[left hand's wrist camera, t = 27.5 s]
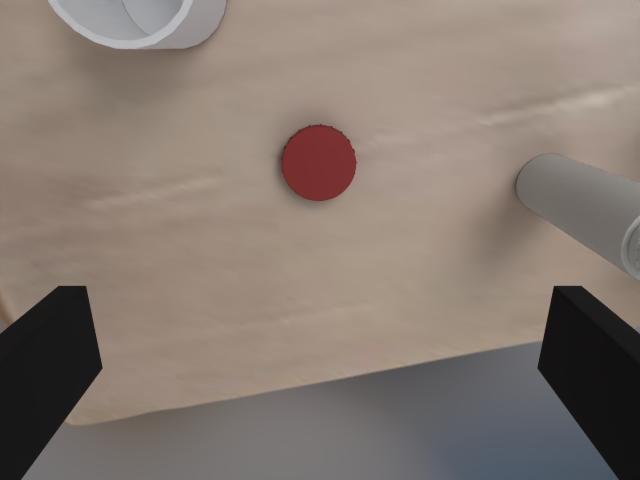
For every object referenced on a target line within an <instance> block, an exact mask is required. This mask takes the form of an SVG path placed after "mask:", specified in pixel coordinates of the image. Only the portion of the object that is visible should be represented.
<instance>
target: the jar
mask: <svg viewBox="0 0 640 480" xmlns="http://www.w3.org/2000/svg"><path fill="white" fill-rule="evenodd" d="M516 191H517V196H518V198H519V200H520V201H521V203H522V204H523V205H524V206H526V207H527V208H529V209H530V210H532V211H533V212H535V213H536V214H538V215H539V216H541V217H542V218H544V219H545V220H547V221H548V222H550V223H551V224H553V225H554V226H556V227H558V228H559V229H561V230H562V231H564V232H565V233H567V234H568V235H570V236H571V237H573V238H574V239H576V240H577V241H579V242H580V243H582V244H583V245H585V246H586V247H588V248H589V249H591V250H592V251H594V252H596V253H597V254H599V255H600V256H602V257H603V258H605V259H606V260H608V261H609V262H611V263H612V264H614V265H615V266H617V267H618V268H620V269H621V270H623V271H624V272H626V273H627V274H629V275H631V276H632V277H634V278H635V279H637V280H639V281H640V183H639V182H636V181H633V180H630V179H627V178H625V177H622V176H619V175H616V174H613V173H610V172H607V171H604V170H602V169H599V168H596V167H593V166H590V165H587V164H584V163H582V162H579V161H576V160H573V159H570V158H567V157H564V156H561V155H558V154H544V155H540V156H538V157H536V158H534V159H532V160H531V161H530V162H528V163H527V164H526V165H525V166H524V168H523V169H522V170H521V172H520V174H519V176H518V179H517V183H516Z"/></svg>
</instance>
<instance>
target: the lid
mask: <svg viewBox="0 0 640 480" xmlns="http://www.w3.org/2000/svg"><path fill="white" fill-rule="evenodd" d="M284 150H285V151H284V153H283V157H282V171H283V174H284V177H285V180H286V182H287V183H288V185H289V186H290V187H291V189H292V190H293V191H294V192H296V193H297V194H298V195H300V196H302V197H304V198H306V199H309V200H315V201H323V200H329V199H332V198H334V197H336V196H338V195H340V194H341V193H342V192H344V191H345V190H346V189H347V187H348V186H349V185H350V183H351V181H352V179H353V177H354V175H355V169H356V164H357V162H356V159H355V154H354V153H355V151H354V149H352V146H351V144H350V141H349V139H347V138H346V137H345V136H344V135H343V134H342V132H339V131H338V130H336V129H334V128H332V126H331V127H329V126H325V125H321V124H320V125H313V126H310V125H309V127H306V128H304V129H302V130H299V131H298V132H297V133H296V134H295V135H294V136H293V137H291V138H290V141H289V142H288V144H287V146H285V148H284Z"/></svg>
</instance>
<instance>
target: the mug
mask: <svg viewBox="0 0 640 480" xmlns="http://www.w3.org/2000/svg"><path fill="white" fill-rule="evenodd" d="M48 1H49V3H50V4H51V6H52V7H53V9H54V10H55V12H56V13H57V14H58V15H59V16H60V17H61V18H62V19H63V20H64V21H65V22H66V23H67V24H68V25H69V26H70V27H71V28H72V29H74V30H75V31H76V32H78V33H80V34H81V35H83V36H85V37H86V38H88V39H90V40H92V41H93V42H95V43H99V44H102V45H106V46H109V47H112V48H116V49H186V48H189V47H193V46H196V45H199V44H200V43H202V42H203V41H205V40H206V39H208V38H209V37H210V36H211V35H212V34H213V33H214V32H215V30H216V29H217V28H218V27H219V25H220V22H221V20H222V18H223V16H224V14H225V9H226V3H227V0H48Z"/></svg>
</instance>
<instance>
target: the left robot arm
mask: <svg viewBox="0 0 640 480" xmlns="http://www.w3.org/2000/svg"><path fill="white" fill-rule="evenodd" d="M101 370H102V363H101V358H100V353H99V348H98V343H97V338H96V333H95V328H94V323H93V318H92V313H91V308H90V303H89V298H88V293H87V288H86V286H58V287H57V288H56V289H54V290H53V291H52V292H51V293H49V294H48V295H47V296H46V297H45V298H43V299H42V300H41V301H40V302H38V303H37V304H36V305H35V306H34V307H32V308H31V309H30V310H29V311H28V312H26V313H25V314H24V315H23V316H21V317H20V318H19V319H18V320H17V321H15V322H14V323H13V324H12V325H10V326H9V327H8V328H7V329H6V330H4V331H3V332H2V333H1V334H0V480H21V479H22V478H23V476H24V475H25V473H26V472H27V471H28V469H29V468H30V467H31V465H32V464H33V462H34V461H35V460H36V458H37V457H38V456H39V454H40V453H41V452H42V450H43V449H44V448H45V446H46V445H47V443H48V442H49V441H50V439H51V438H52V437H53V435H54V434H55V433H56V431H57V430H58V428H59V427H60V426H61V424H62V423H63V422H64V420H65V419H66V417H67V416H68V415H69V413H70V412H71V411H72V409H73V408H74V407H75V405H76V404H77V402H78V401H79V400H80V398H81V397H82V396H83V394H84V393H85V392H86V390H87V389H88V387H89V386H90V385H91V383H92V382H93V381H94V379H95V378H96V377H97V375H98V374H99V372H100V371H101ZM538 370H539V371H540V372H541V374H542V375H543V377H544V378H545V379H546V381H547V382H548V383H549V385H550V386H551V387H552V389H553V390H554V392H555V393H556V394H557V396H558V397H559V398H560V400H561V401H562V402H563V404H564V405H565V407H566V408H567V409H568V411H569V412H570V413H571V415H572V416H573V417H574V419H575V420H576V422H577V423H578V424H579V426H580V427H581V428H582V430H583V431H584V433H585V434H586V435H587V437H588V438H589V439H590V441H591V442H592V443H593V445H594V446H595V448H596V449H597V450H598V452H599V453H600V454H601V456H602V457H603V458H604V460H605V461H606V463H607V464H608V465H609V467H610V468H611V469H612V471H613V472H614V473H615V475H616V476H617V478H618V479H619V480H640V334H639V333H638V332H637V331H636V330H634V329H633V328H632V327H631V326H630V325H628V324H627V323H626V322H625V321H623V320H622V319H621V318H620V317H619V316H617V315H616V314H615V313H614V312H612V311H611V310H610V309H609V308H608V307H606V306H605V305H604V304H603V303H601V302H600V301H599V300H598V299H597V298H595V297H594V296H593V295H592V294H591V293H589V292H588V291H587V290H586V289H584V288H583V287H582V286H554V288H553V293H552V298H551V303H550V308H549V313H548V318H547V323H546V328H545V333H544V338H543V343H542V348H541V353H540V358H539V363H538Z"/></svg>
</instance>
